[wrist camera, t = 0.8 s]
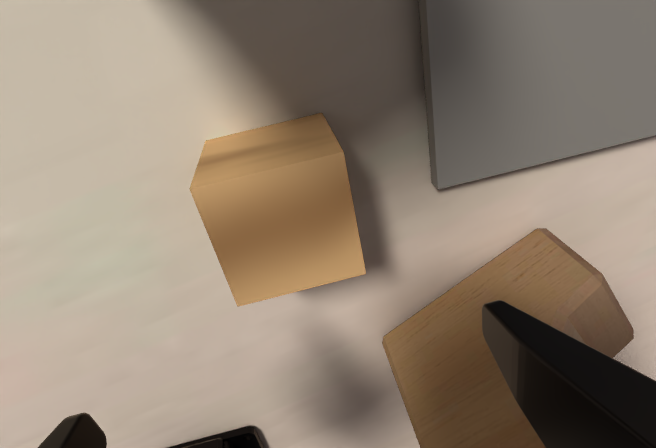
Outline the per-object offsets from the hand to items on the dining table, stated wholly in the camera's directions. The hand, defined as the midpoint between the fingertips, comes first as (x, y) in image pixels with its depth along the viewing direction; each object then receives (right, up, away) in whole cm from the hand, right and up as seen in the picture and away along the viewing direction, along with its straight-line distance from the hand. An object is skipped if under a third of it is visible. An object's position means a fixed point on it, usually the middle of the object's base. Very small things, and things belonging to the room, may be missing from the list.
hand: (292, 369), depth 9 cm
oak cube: (-1, +5, +9) cm, 11 cm away
